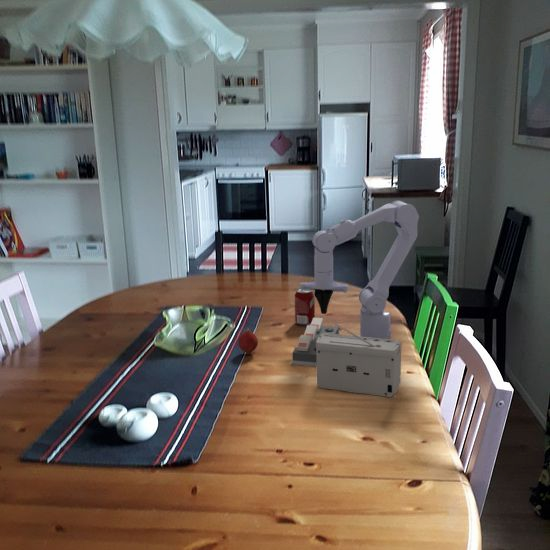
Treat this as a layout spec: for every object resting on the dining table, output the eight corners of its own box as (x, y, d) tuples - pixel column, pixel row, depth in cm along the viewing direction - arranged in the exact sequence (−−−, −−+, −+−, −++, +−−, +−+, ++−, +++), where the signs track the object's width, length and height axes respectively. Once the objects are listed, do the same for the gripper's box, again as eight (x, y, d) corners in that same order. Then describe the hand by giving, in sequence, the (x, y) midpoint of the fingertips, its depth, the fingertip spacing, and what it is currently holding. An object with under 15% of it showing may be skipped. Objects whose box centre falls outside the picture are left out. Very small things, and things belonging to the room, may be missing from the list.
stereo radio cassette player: (400, 386, 144) (402, 312, 139) (396, 401, 136) (398, 323, 131) (322, 376, 151) (321, 306, 146) (313, 390, 143) (312, 316, 138)
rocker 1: (311, 339, 165) (311, 335, 164) (307, 351, 160) (306, 347, 159) (301, 338, 165) (301, 334, 165) (296, 350, 161) (296, 346, 160)
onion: (235, 355, 166) (234, 330, 164) (245, 349, 171) (244, 324, 169) (252, 359, 164) (251, 333, 162) (261, 352, 169) (260, 327, 166)
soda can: (307, 328, 188) (307, 293, 185) (291, 324, 192) (290, 290, 189) (318, 322, 193) (318, 289, 190) (302, 318, 197) (301, 286, 194)
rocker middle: (317, 328, 172) (317, 325, 171) (313, 341, 167) (313, 338, 166) (307, 328, 173) (307, 325, 172) (303, 341, 168) (302, 337, 167)
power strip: (339, 333, 181) (339, 322, 181) (322, 367, 156) (321, 355, 155) (312, 331, 184) (312, 321, 183) (291, 364, 159) (290, 352, 158)
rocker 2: (323, 321, 179) (323, 318, 179) (319, 332, 174) (319, 328, 174) (313, 320, 180) (313, 317, 180) (309, 331, 175) (309, 327, 175)
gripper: (349, 268, 171) (349, 310, 175) (303, 266, 175) (304, 307, 179) (345, 274, 165) (345, 317, 168) (298, 271, 169) (299, 314, 172)
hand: (324, 312), depth 173 cm, fingers closed
